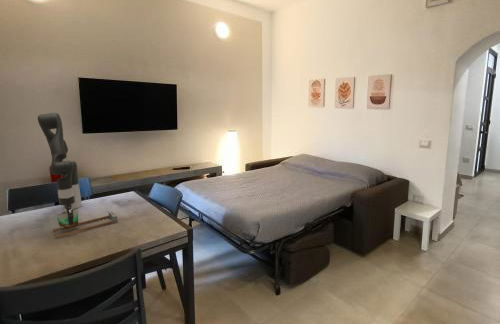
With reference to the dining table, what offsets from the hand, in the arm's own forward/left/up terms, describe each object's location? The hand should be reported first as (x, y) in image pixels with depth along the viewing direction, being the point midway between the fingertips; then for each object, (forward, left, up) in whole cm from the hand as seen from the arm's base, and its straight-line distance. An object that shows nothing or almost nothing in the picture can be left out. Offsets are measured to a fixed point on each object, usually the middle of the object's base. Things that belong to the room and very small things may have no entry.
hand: (70, 222), depth 166 cm
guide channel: (0, +8, -5) cm, 10 cm away
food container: (+1, 0, -3) cm, 3 cm away
